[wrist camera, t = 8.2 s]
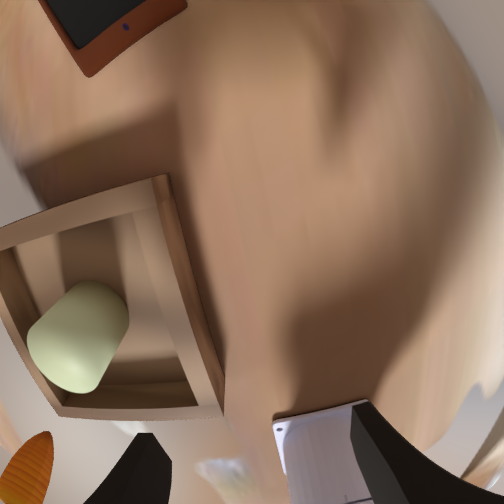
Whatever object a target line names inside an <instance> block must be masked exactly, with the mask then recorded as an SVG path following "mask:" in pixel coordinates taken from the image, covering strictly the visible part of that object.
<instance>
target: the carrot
mask: <svg viewBox="0 0 504 504" xmlns="http://www.w3.org/2000/svg"><path fill="white" fill-rule="evenodd" d="M53 460H54V447H53V438H52V435H51V433H50V432H49V431H43V432H42V433H39V434H37V435H35V436H34V437H32V438H31V439H29V440H28V441H27V442H26V443H25V444H24V445H23V446H22V447H21V448H20V449H19V450H18V451H17V452H16V453H15V455H14V456H13V457H12V459H11V460H10V462H9V463H8V465H7V467H6V469H5V470H4V472H3V474H2V476H1V478H0V499H1V500H2V501H3V502H4V503H5V504H42V503H43V500H44V497H45V495H46V491H47V488H48V485H49V482H50V476H51V472H52V466H53Z"/></svg>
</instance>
